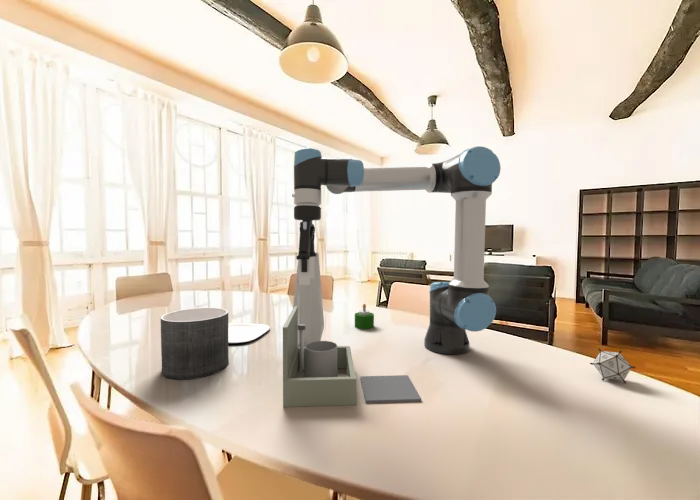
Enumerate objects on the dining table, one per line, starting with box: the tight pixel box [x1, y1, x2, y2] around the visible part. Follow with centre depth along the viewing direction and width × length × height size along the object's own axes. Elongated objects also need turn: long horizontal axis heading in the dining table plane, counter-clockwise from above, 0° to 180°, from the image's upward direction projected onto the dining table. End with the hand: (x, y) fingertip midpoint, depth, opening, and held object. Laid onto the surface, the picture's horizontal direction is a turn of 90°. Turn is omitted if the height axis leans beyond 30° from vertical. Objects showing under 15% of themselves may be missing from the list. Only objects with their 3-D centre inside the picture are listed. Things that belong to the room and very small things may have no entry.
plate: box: [228, 322, 271, 345], centre depth 126 cm, size 25×25×2 cm
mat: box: [359, 374, 422, 404], centre depth 80 cm, size 13×13×1 cm
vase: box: [292, 252, 325, 347], centre depth 114 cm, size 12×12×33 cm
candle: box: [354, 303, 375, 330], centre depth 138 cm, size 8×8×10 cm
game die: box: [589, 347, 636, 384], centre depth 86 cm, size 9×8×10 cm
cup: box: [304, 340, 338, 378], centre depth 83 cm, size 8×8×10 cm
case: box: [282, 306, 357, 408], centre depth 83 cm, size 16×22×18 cm
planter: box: [160, 307, 230, 380], centre depth 94 cm, size 18×18×16 cm
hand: (307, 281), depth 90 cm, fingers open, 13 cm apart
